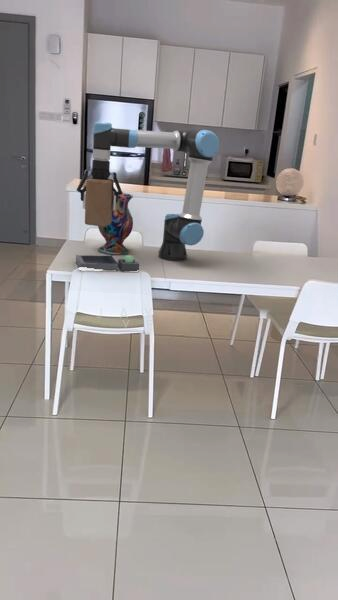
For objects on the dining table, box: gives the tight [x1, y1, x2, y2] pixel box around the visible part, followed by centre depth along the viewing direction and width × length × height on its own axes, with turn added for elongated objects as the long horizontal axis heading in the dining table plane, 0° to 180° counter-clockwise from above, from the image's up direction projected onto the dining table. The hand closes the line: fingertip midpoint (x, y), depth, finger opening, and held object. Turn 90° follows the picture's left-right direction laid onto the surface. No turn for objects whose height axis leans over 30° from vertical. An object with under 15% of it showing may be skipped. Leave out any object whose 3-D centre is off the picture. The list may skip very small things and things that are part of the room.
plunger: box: [124, 254, 134, 263], centre depth 224 cm, size 4×4×5 cm
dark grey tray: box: [75, 254, 119, 272], centre depth 225 cm, size 17×15×4 cm
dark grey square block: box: [117, 258, 140, 272], centre depth 225 cm, size 8×8×4 cm
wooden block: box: [84, 177, 115, 227], centre depth 216 cm, size 10×10×20 cm
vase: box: [97, 192, 134, 255], centre depth 253 cm, size 18×18×30 cm
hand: (98, 209), depth 217 cm, fingers closed on wooden block, 13 cm apart
